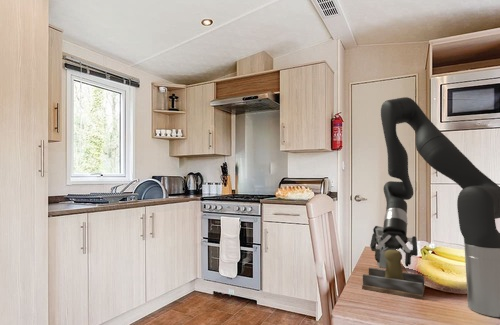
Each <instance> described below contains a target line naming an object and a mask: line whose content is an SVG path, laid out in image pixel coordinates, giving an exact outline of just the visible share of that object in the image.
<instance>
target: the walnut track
mask: <svg viewBox="0 0 500 325" xmlns="http://www.w3.org/2000/svg"><path fill="white" fill-rule="evenodd" d="M385 272H386V269H384V268H376V267H369V268H368V274H364V273H363V274H362V286H361V290H368V291H373V292H379V293H384V294H388V295H389V294H391V295H395V296H400V297H401V296H402V297H407V298H413V299H417V300H418V299H419V300H423V297H424V293H425V289H426V285H424V283H425V276H424V277H423V276H421V275H422V274H420V275H419V273H410V272H403V271H402V273H403V278H404V280H399V279H392V278H385Z"/></svg>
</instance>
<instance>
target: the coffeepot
mask: <svg viewBox="0 0 500 325" xmlns="http://www.w3.org/2000/svg"><path fill="white" fill-rule="evenodd" d="M372 230H373V231H372V232H373V233H376V235H380V236H381V235H382V234H383V227H382V226H380V225H379V226H378V225H374V227H373V229H372ZM381 241H382V240H381V239H380V240H379V241H378V242H377V243H376V246H378V245H379V244H380V242H381ZM384 245H385V244H384ZM387 250H396V249H394V248H393V249H389V248H386V249H385V250H383V251H382V252H380V253H381V255H380V263H378V262H377V261H376V265H377V267H378V266H379V268H380V267H382V268H381V269H384V268H386V262H387V260H386V258H385V252H386V251H387Z"/></svg>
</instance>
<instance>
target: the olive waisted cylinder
mask: <svg viewBox="0 0 500 325" xmlns="http://www.w3.org/2000/svg"><path fill="white" fill-rule="evenodd" d="M385 258H386V260H387V262H386V269H385V270H386V272H385V278H392V279H399V280H404V278H403V273H402V272H403V270H402V268H403V267H402V263H401V261H402V259H403V255H402V253H401V251H400V250H398V249H397V250H387V251H386V252H385Z"/></svg>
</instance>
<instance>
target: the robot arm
mask: <svg viewBox="0 0 500 325" xmlns="http://www.w3.org/2000/svg"><path fill="white" fill-rule="evenodd" d="M380 120H381V125H382V130H383V135H384V140H385V144H386V145H385V146H386V153H387V175H388V176H389V177H391V178H395V179H399V180H400V181H392V180H391V181H386V182H385V184H384V185H383V193H384V197H385V201H386V206H385V209H386V210H385V214H384V218H383V234H382V235H381V236H380V235H376V233H374V232H373V233H372V235H371V241H370V244H369V246H370V249H371V252H374V259H375V261H376V263H377V262H378V263H380V255H381V253H380V252H382V251H383V250H385V249H386V248H389V249H393V248H394V249H397V250H400V249H401V251H402V252H403V253H404V255H405V256H404V258H405V259H404V260H405V261H404V263H405V267H409V266H411V264H412V256H413V257H414V256H415V257H417V256H418V254H419V253H418V240H417V237H416V236H412V237H408V236H407V234H408V233H407V232H408V225H409V224H408V215H407V214H408V204H407V201H409V200H410V199H412V197H413V196H414V187H413V184H412V182H411V179H410V176H409V174H410V173H409V156H408V153H407V150H406V148H405V146H404V145H403V144H402V142H401V141H400V138H399V137H398V133H397V124H398V125H399V124H408V125H409V126H410V127H411V129H412V130H413V131H414V133H415V148H416V151H417V153H418V154H419V155H420V156H421V157H422V159H423V160H424V161H425V162H426V164H428V166H430V167H431V168H432V169H434V170H435V171H436V172H438V173H440V174H442V176H443V175H444V176H445V177H447V178H448V179H450V180H452V181H453V182H454V183H456V184H457V185H458V186H459V187H460V188H461V190H460V192H459V194H458V195H457V199H456V200H457V202H456V203H457V204H456V205H457V209H456V210H457V216H458V217H457V218H458V224H459V230H460V233H461V236H462V238H463V242H464V243H463V246H464V261H465V273H466V274H465V277H466V294H467V307H468V308H469V309H470V310H471V311H473V312H476V313H478V314H482V315H484V316H488V317H494V318H500V231H499V230H498V229H497V224H496V219H500V185H498V183H496V182H495V181H493V180H492V179H491V178H489V176H487V174H485V173H483V172H482V171H481V170H480V169H479V168H477V166H475V165H474V164H473V162H471V160H470V159H469V158H468V157H467V156H466V155H465V154H464V153H463V152H461V150H460V149H459V148H458V147H457V146H456V145H455V144H454V143H453V142H452V141H451V140H450V139H449V138H448V137H447V136H446V135H445V134H444V133H443V132H442V131H440V129H439V128H438V127H437V126H436V125H435V124H434V123H433V121H431V120H430V119H429V117H428V116H427V115H426V113H424V111H423V110H422V109H421V107H420V105H418V103H417V102H416V101H415V100H414V99H412V98H410V97H409V96H407V97H405V96H404V97H397V98H393V99H388V100H385V101H384V102H382V105H381V107H380ZM380 239H381V240H382V241H381V242H380V244H379V245H377V242H378V241H379V240H380ZM408 242H409V244H410V245H412V249H410V248H409V247H408V245H407V244H408ZM384 244H385V245H384Z"/></svg>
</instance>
